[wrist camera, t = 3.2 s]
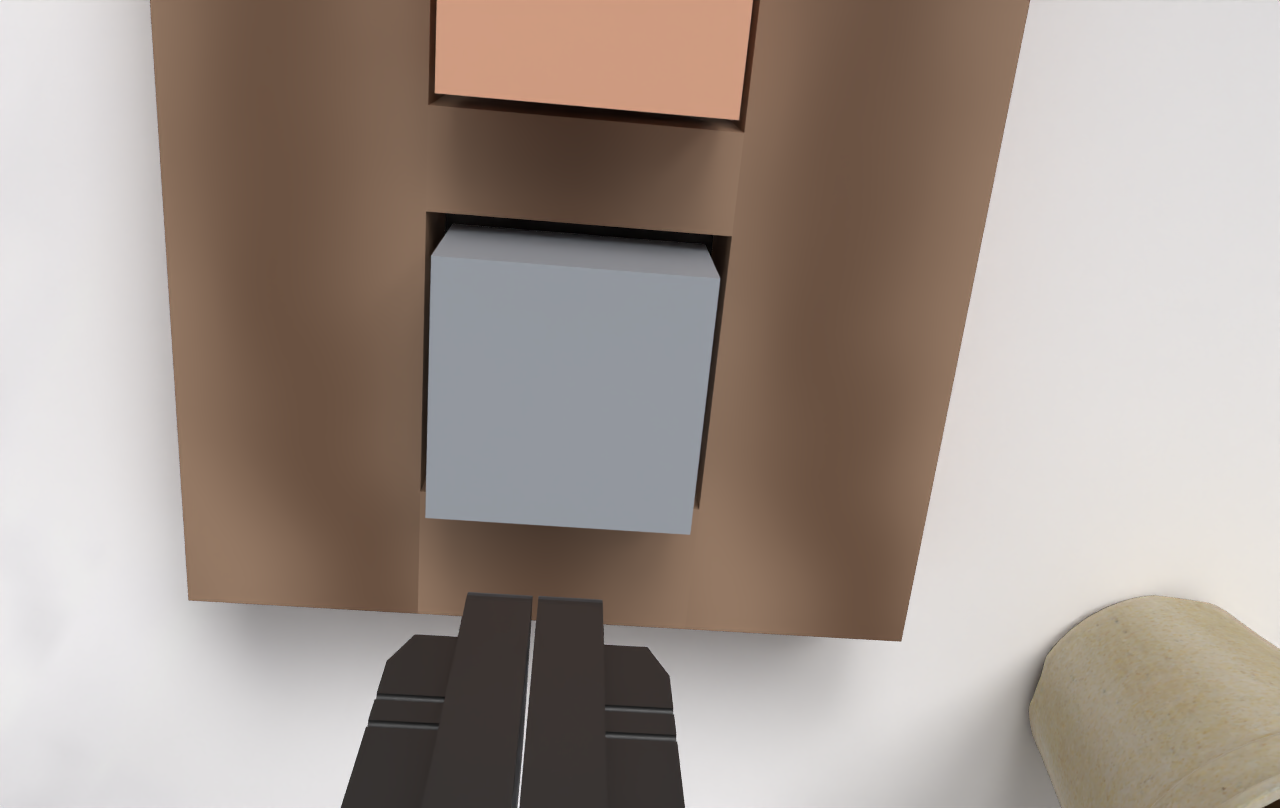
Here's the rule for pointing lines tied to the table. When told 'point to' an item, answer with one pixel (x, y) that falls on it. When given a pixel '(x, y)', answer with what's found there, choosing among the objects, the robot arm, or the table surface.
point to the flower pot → (1160, 710)
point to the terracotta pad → (597, 53)
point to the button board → (582, 194)
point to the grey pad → (567, 378)
